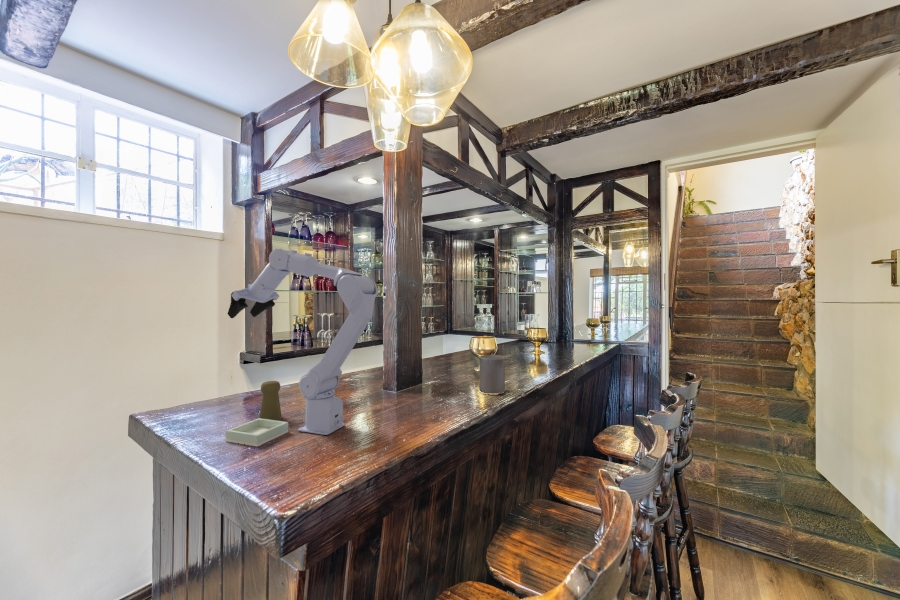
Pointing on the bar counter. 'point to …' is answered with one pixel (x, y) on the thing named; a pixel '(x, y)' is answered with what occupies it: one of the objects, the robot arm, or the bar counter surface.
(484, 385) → the pillar candle
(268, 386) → the olive pepper mill
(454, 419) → the bar counter surface
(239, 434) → the tray
